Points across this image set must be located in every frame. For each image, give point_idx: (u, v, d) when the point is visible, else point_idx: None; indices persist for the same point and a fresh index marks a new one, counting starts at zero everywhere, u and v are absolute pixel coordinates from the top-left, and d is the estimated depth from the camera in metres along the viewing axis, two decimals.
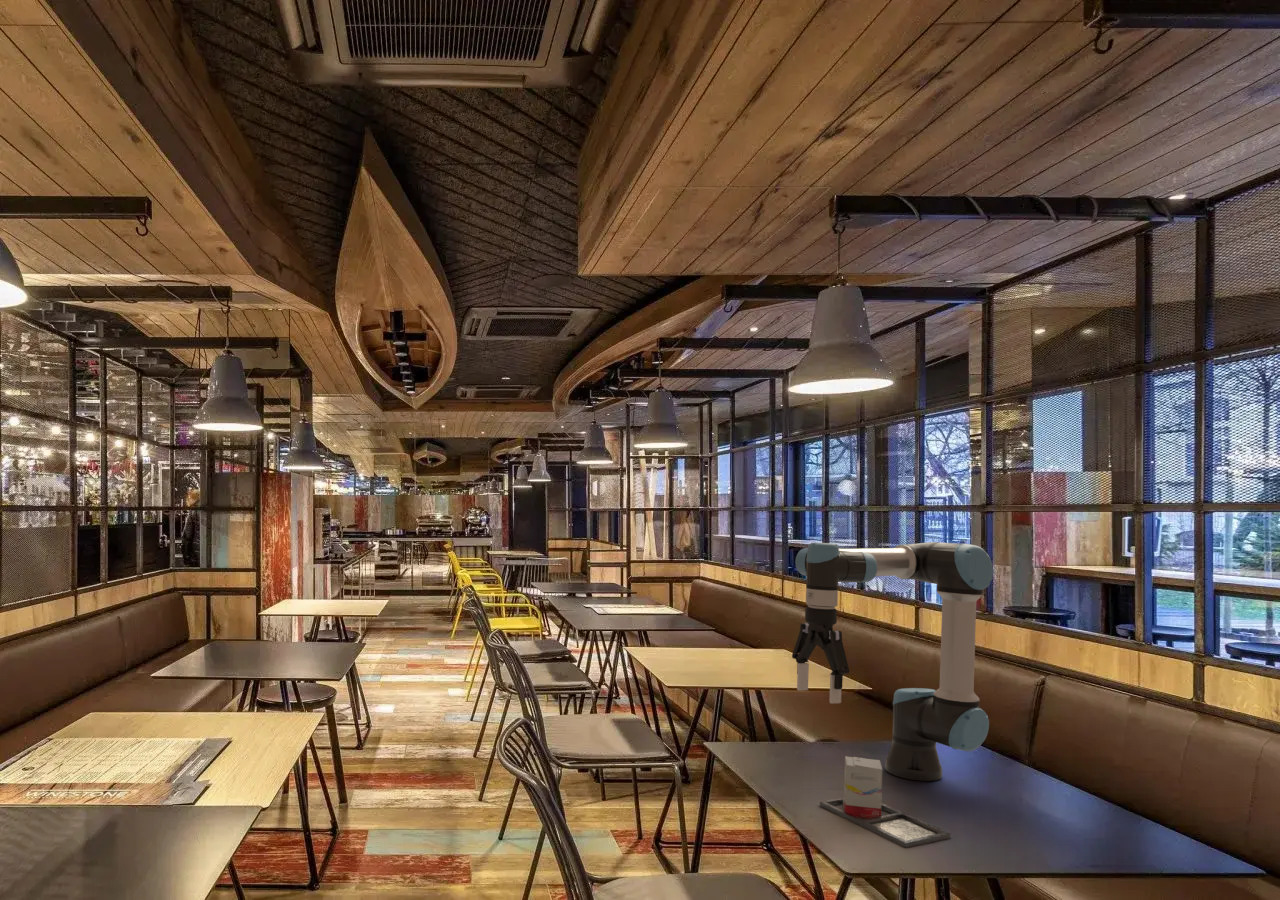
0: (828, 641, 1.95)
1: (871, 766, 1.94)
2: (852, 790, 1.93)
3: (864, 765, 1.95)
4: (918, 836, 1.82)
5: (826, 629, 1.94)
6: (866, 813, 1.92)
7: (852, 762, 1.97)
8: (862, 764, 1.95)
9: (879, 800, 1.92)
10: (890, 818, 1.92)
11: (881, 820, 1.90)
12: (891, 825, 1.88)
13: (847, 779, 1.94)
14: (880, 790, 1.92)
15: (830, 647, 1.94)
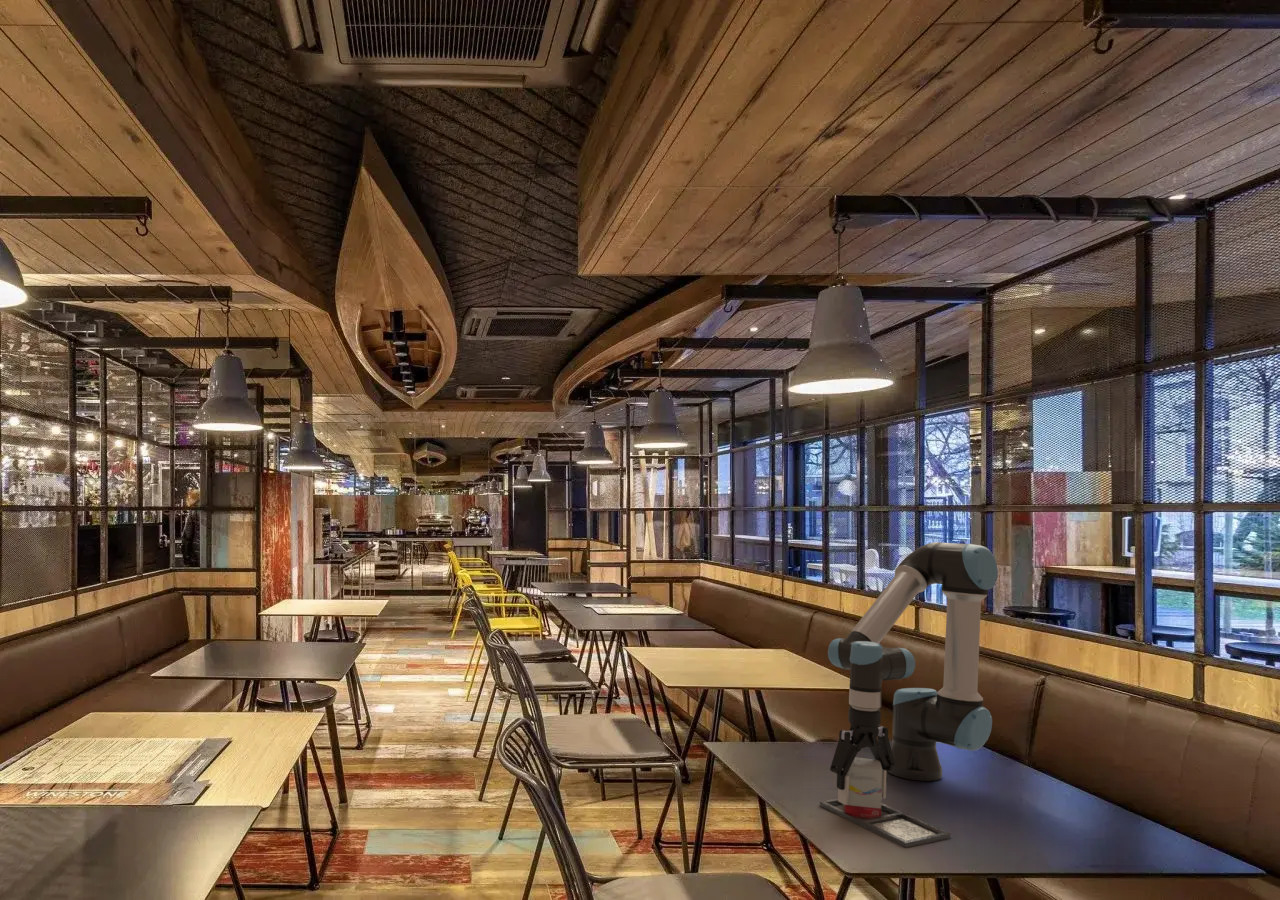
0: (856, 742, 1.96)
1: (871, 766, 1.94)
2: (851, 790, 1.93)
3: (864, 765, 1.95)
4: (918, 836, 1.82)
5: None
6: (866, 813, 1.92)
7: None
8: (862, 764, 1.95)
9: (879, 800, 1.92)
10: (890, 818, 1.92)
11: (881, 820, 1.90)
12: (891, 825, 1.88)
13: None
14: (880, 790, 1.92)
15: (851, 747, 1.96)
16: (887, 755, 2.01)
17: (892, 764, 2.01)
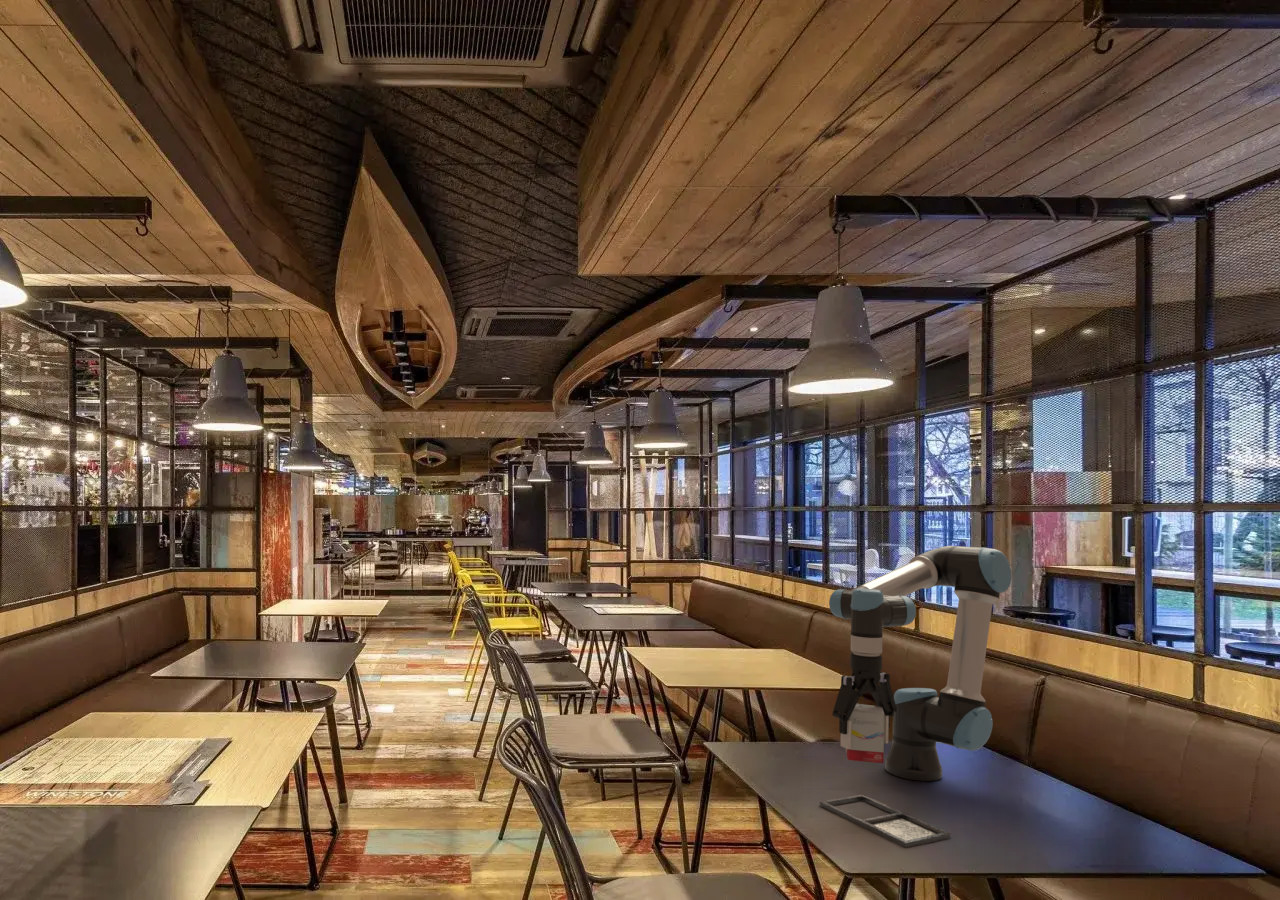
0: (857, 687, 1.97)
1: (873, 711, 1.95)
2: (854, 735, 1.95)
3: (866, 710, 1.96)
4: (918, 836, 1.82)
5: None
6: (868, 757, 1.94)
7: (854, 708, 1.98)
8: (864, 709, 1.96)
9: (881, 744, 1.93)
10: (890, 818, 1.92)
11: (881, 820, 1.90)
12: (891, 825, 1.88)
13: None
14: (882, 734, 1.93)
15: (853, 693, 1.97)
16: (889, 701, 2.02)
17: (894, 710, 2.02)
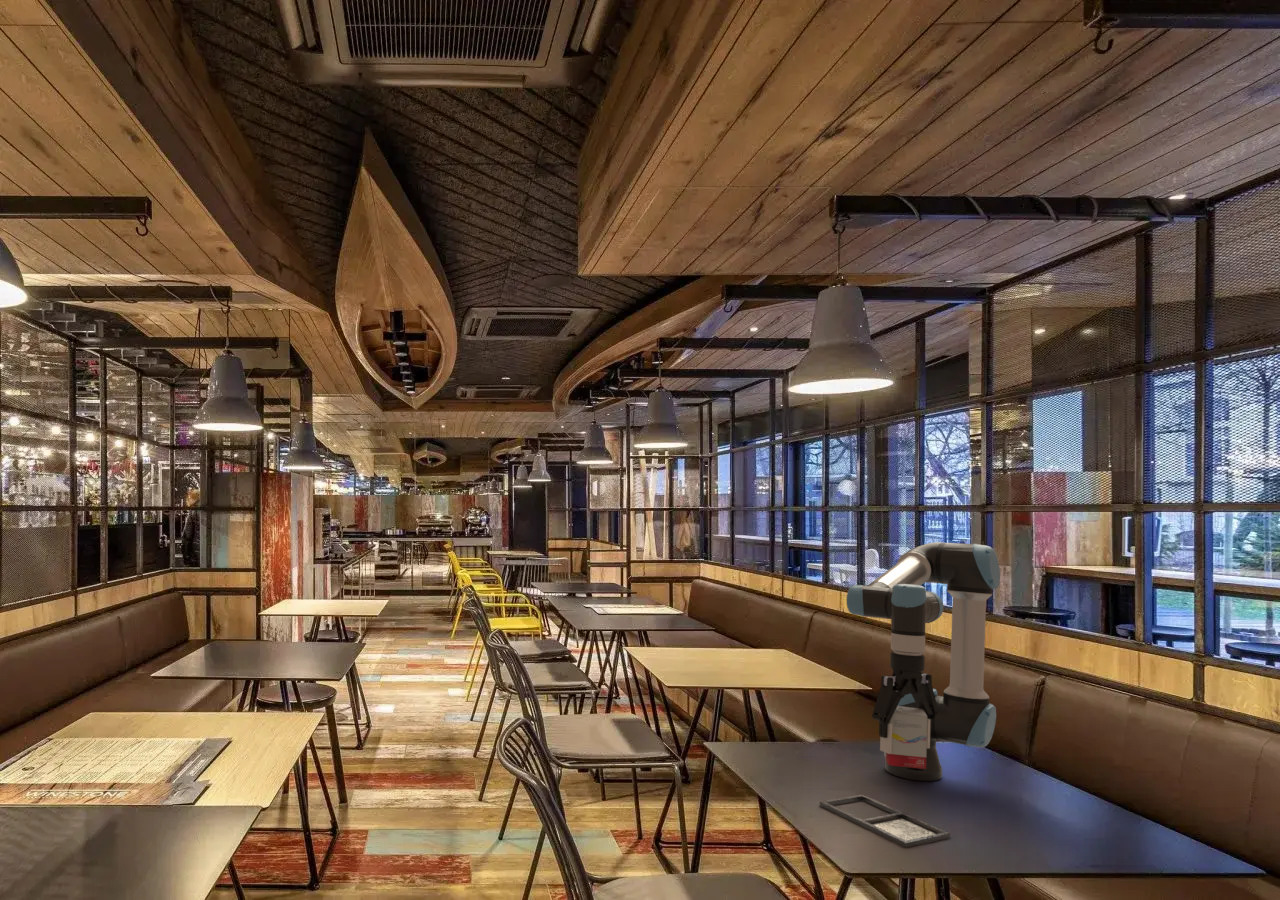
0: (898, 688, 1.86)
1: (915, 713, 1.84)
2: (895, 738, 1.83)
3: (908, 712, 1.85)
4: (918, 836, 1.82)
5: (892, 674, 1.87)
6: (910, 762, 1.82)
7: (895, 710, 1.87)
8: (905, 711, 1.85)
9: (924, 748, 1.82)
10: (890, 818, 1.92)
11: (881, 820, 1.90)
12: (891, 825, 1.88)
13: None
14: (925, 738, 1.82)
15: (894, 694, 1.86)
16: (931, 703, 1.91)
17: (936, 713, 1.90)
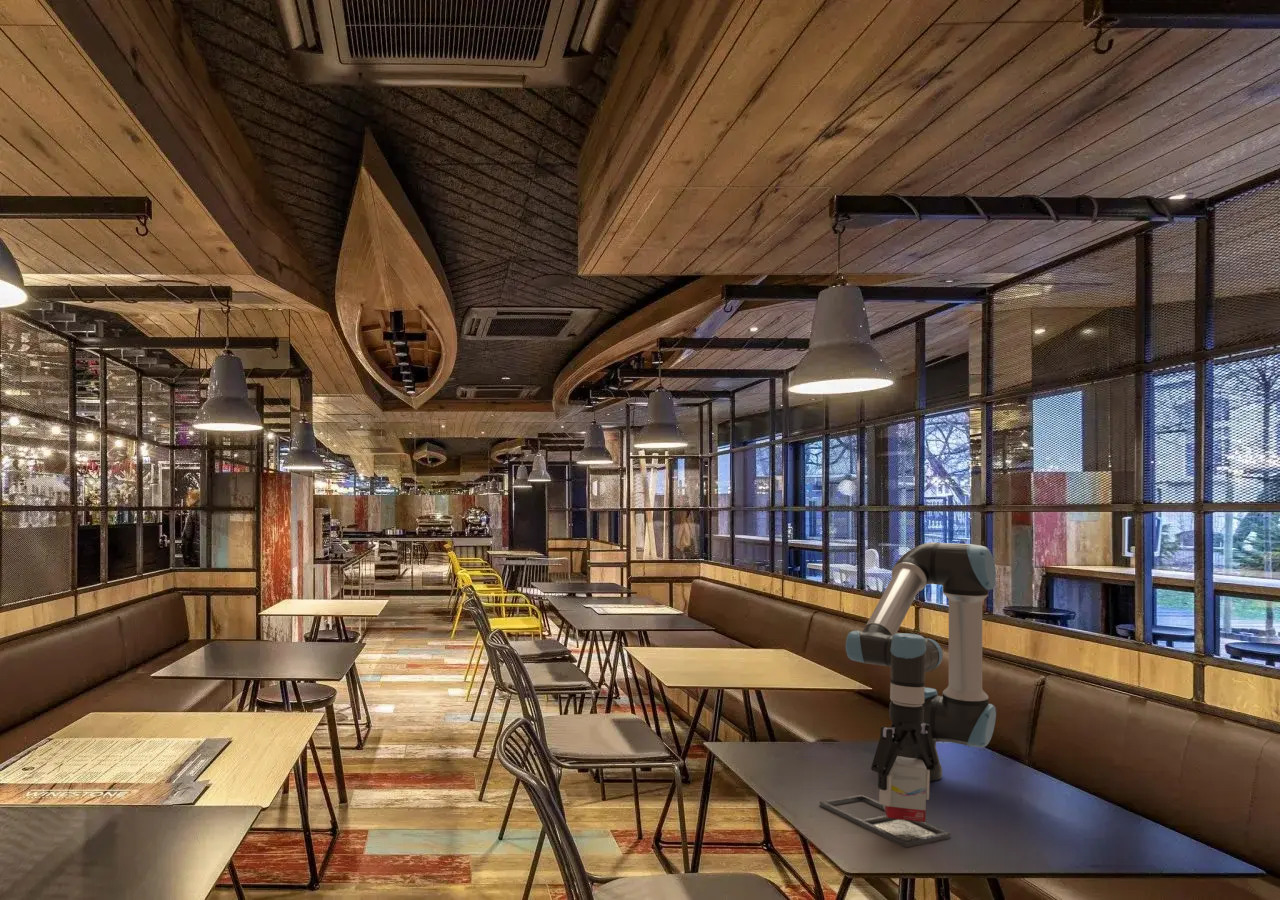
0: (898, 739, 1.85)
1: (914, 765, 1.83)
2: (894, 791, 1.82)
3: (907, 764, 1.84)
4: (918, 836, 1.82)
5: (891, 725, 1.86)
6: (909, 815, 1.81)
7: None
8: (905, 763, 1.84)
9: (923, 801, 1.81)
10: (890, 818, 1.92)
11: (881, 820, 1.90)
12: (891, 825, 1.88)
13: None
14: (924, 791, 1.81)
15: (893, 745, 1.85)
16: (930, 754, 1.90)
17: (935, 763, 1.90)
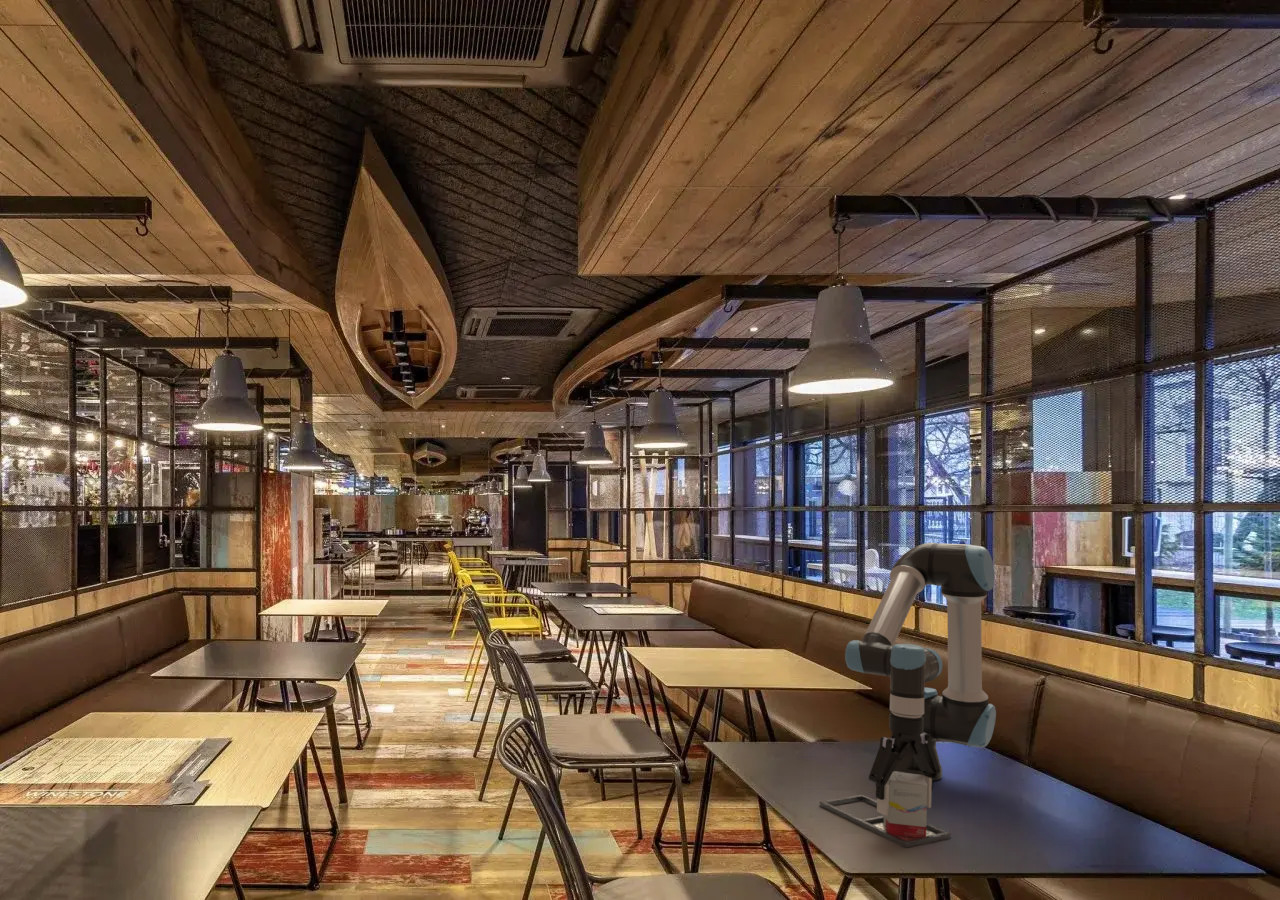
0: (897, 750, 1.85)
1: (915, 782, 1.83)
2: (895, 807, 1.82)
3: (908, 781, 1.83)
4: None
5: (891, 736, 1.86)
6: (910, 831, 1.81)
7: (894, 777, 1.86)
8: (905, 779, 1.84)
9: (924, 818, 1.81)
10: None
11: (881, 820, 1.90)
12: None
13: (890, 795, 1.83)
14: (925, 807, 1.81)
15: (892, 756, 1.84)
16: (931, 762, 1.90)
17: (937, 771, 1.90)
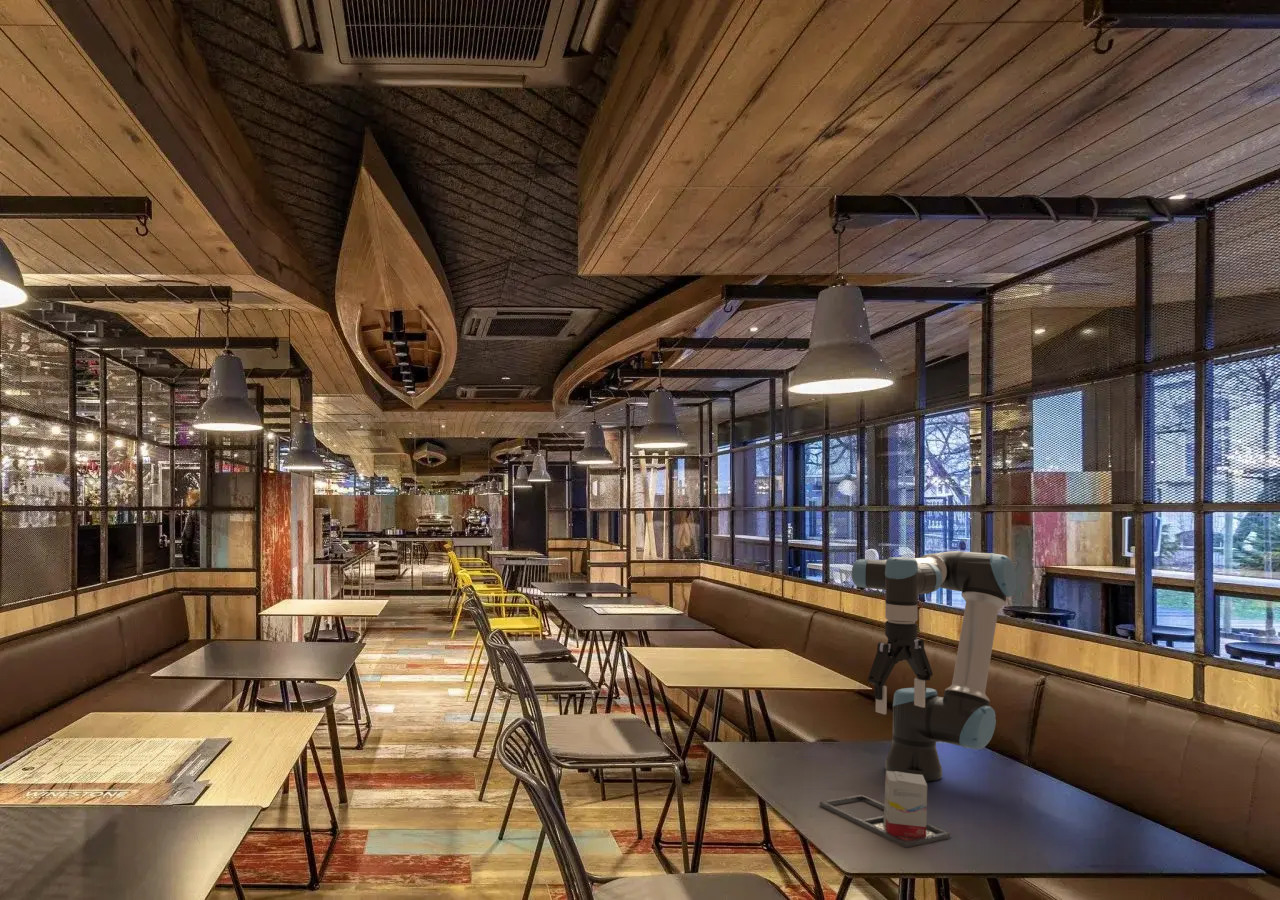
0: (893, 654, 1.98)
1: (915, 782, 1.83)
2: (895, 807, 1.82)
3: (908, 781, 1.83)
4: None
5: None
6: (910, 831, 1.81)
7: (894, 777, 1.86)
8: (905, 779, 1.84)
9: (924, 818, 1.81)
10: None
11: (881, 820, 1.90)
12: None
13: (890, 795, 1.83)
14: (925, 807, 1.81)
15: (888, 660, 1.97)
16: (925, 666, 2.03)
17: (930, 674, 2.03)
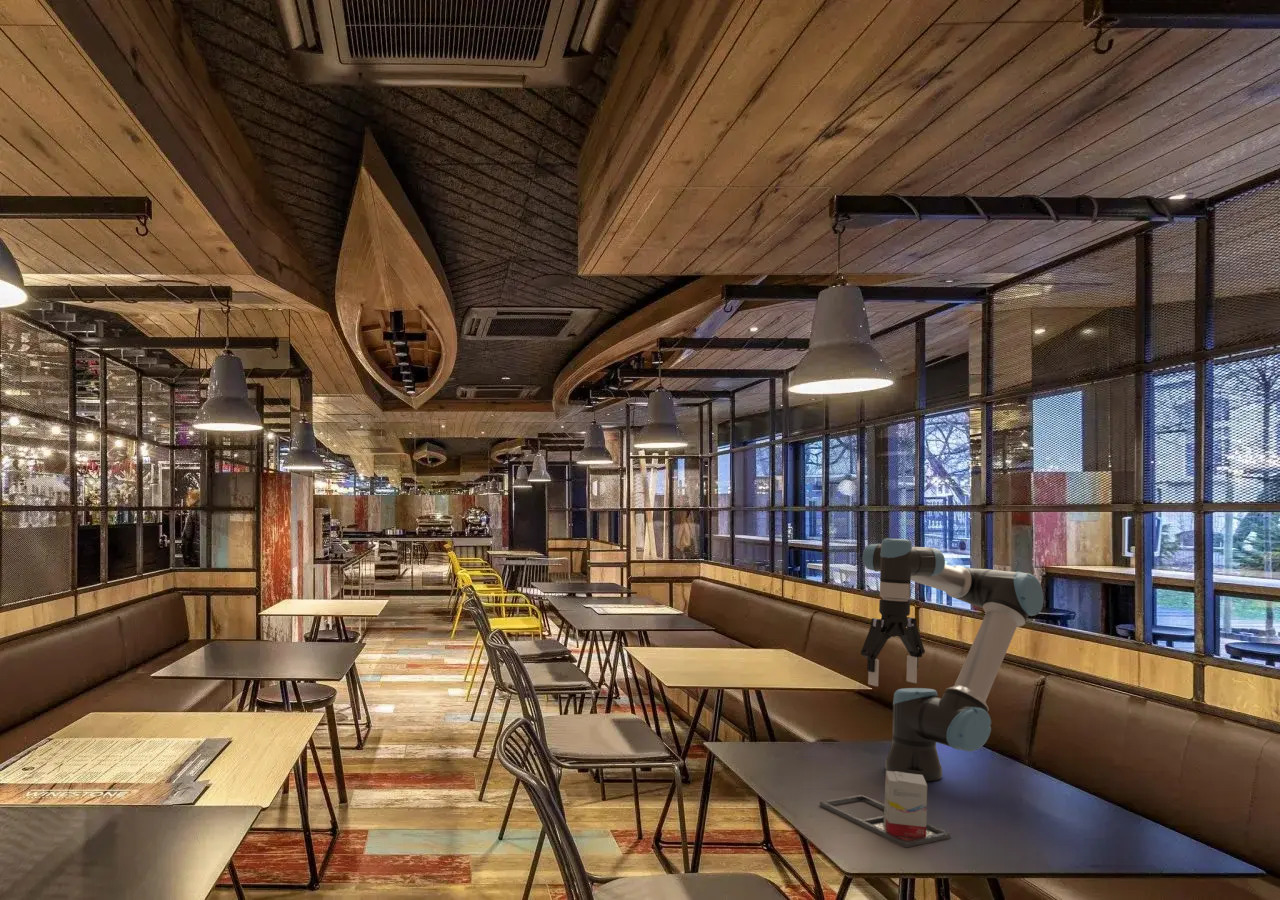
0: (886, 630, 2.08)
1: (915, 782, 1.83)
2: (895, 807, 1.82)
3: (908, 781, 1.83)
4: None
5: (881, 618, 2.08)
6: (910, 831, 1.81)
7: (894, 777, 1.86)
8: (905, 779, 1.84)
9: (924, 818, 1.81)
10: None
11: (881, 820, 1.90)
12: None
13: (890, 795, 1.83)
14: (925, 807, 1.81)
15: (881, 635, 2.07)
16: (917, 644, 2.12)
17: (922, 652, 2.12)
